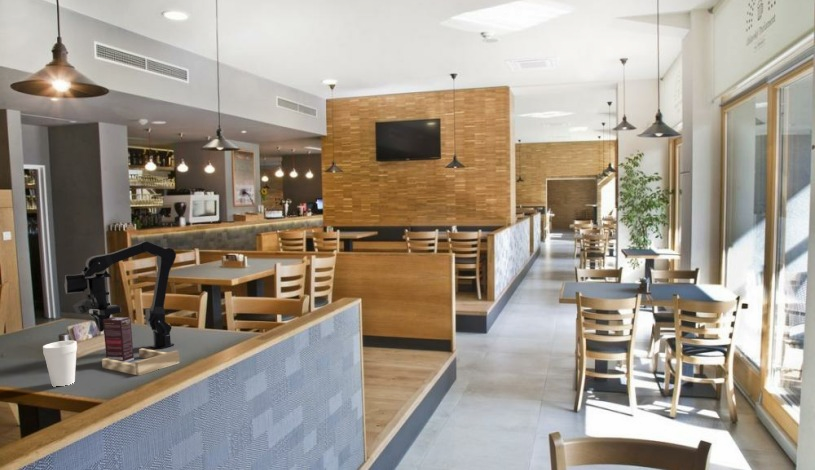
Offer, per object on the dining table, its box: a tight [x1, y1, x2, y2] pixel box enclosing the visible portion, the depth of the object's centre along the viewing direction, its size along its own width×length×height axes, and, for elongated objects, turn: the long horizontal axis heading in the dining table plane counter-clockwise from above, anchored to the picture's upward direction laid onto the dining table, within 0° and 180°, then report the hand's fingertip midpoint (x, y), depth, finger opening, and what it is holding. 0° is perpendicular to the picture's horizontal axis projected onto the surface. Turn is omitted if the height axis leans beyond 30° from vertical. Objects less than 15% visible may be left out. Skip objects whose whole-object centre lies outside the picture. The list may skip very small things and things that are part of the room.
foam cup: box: [42, 340, 78, 388], centre depth 184 cm, size 10×9×13 cm
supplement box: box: [103, 316, 135, 363], centre depth 209 cm, size 9×5×16 cm, turn 71°
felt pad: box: [128, 358, 145, 364], centre depth 202 cm, size 14×10×1 cm
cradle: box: [101, 347, 180, 376], centre depth 202 cm, size 22×16×4 cm
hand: (101, 331), depth 215 cm, fingers closed
